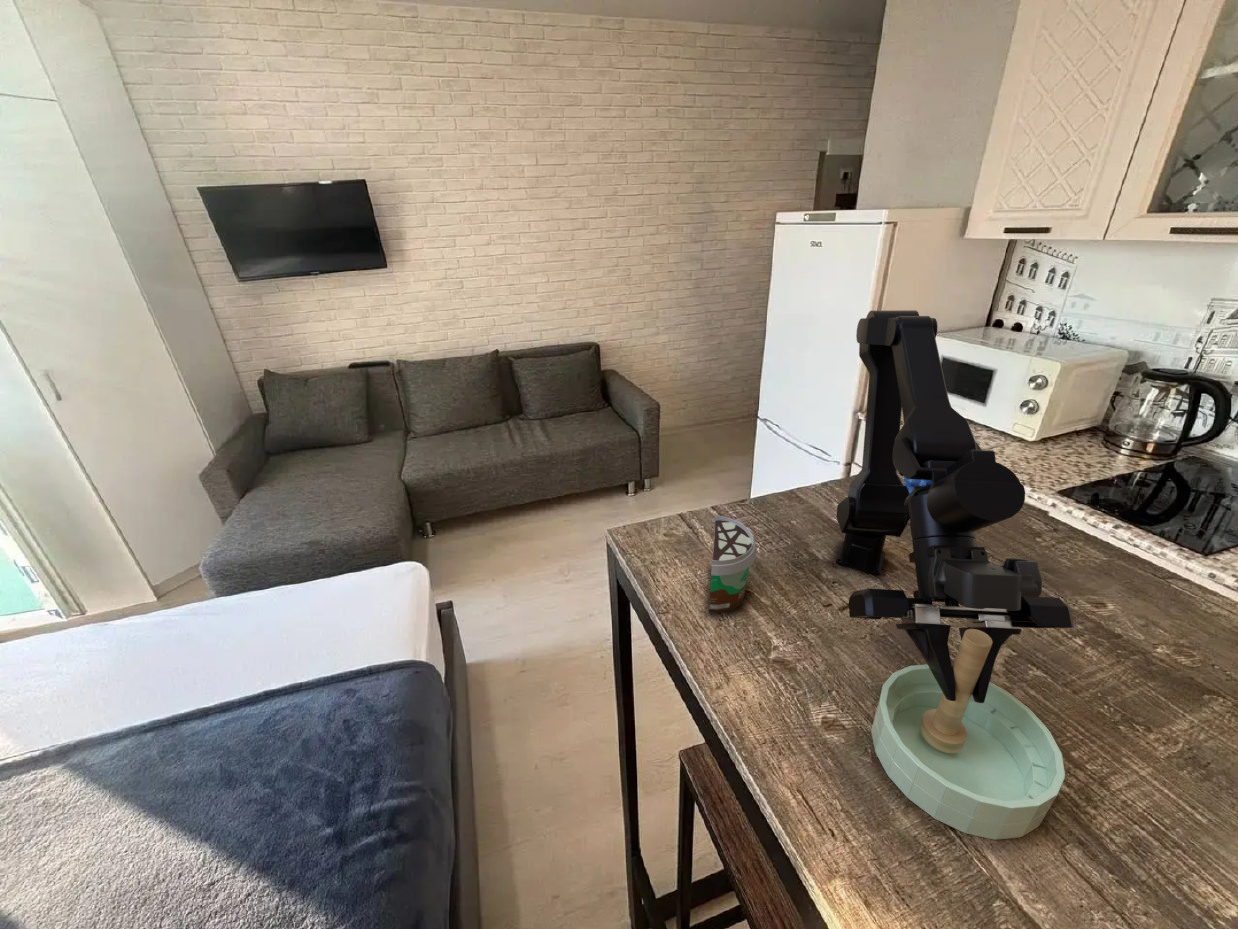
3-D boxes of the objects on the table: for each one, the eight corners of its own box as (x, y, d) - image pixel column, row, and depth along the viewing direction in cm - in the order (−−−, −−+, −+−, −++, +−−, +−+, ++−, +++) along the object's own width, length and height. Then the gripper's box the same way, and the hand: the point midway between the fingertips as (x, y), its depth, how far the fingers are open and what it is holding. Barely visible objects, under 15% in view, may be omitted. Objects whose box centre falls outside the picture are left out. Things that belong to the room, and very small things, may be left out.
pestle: (921, 712, 56) (954, 616, 50) (963, 729, 54) (1003, 631, 48) (917, 741, 53) (952, 643, 47) (962, 760, 51) (1005, 660, 45)
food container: (753, 625, 71) (759, 567, 66) (708, 619, 72) (711, 563, 67) (751, 569, 81) (756, 516, 77) (712, 565, 83) (714, 513, 78)
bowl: (881, 678, 62) (891, 645, 60) (1037, 737, 55) (1055, 702, 52) (859, 786, 51) (869, 751, 48) (1051, 880, 43) (1075, 844, 41)
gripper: (878, 522, 47) (896, 705, 43) (1100, 530, 45) (1145, 724, 40) (842, 542, 58) (853, 690, 53) (1020, 549, 56) (1049, 705, 51)
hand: (965, 701), depth 49 cm, fingers closed on pestle, 2 cm apart
